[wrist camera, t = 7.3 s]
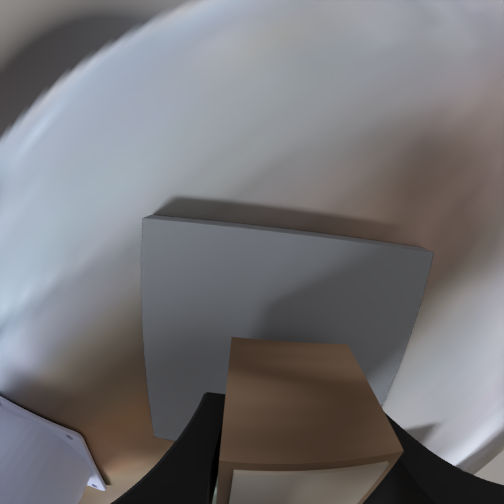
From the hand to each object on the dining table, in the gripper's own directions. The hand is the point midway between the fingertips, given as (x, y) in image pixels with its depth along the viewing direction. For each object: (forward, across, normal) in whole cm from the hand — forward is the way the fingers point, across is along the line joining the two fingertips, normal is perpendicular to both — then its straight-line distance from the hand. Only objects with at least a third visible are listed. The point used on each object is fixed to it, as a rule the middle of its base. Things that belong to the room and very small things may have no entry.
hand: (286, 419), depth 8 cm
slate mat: (+4, 0, 0) cm, 4 cm away
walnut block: (+2, 0, 0) cm, 2 cm away
